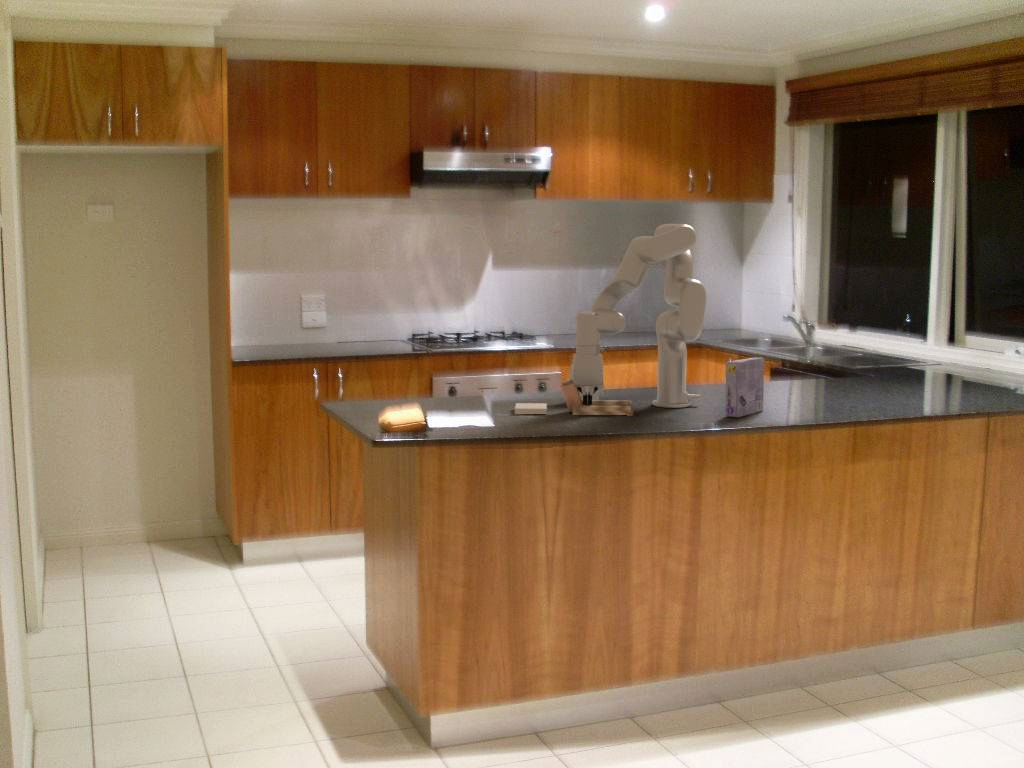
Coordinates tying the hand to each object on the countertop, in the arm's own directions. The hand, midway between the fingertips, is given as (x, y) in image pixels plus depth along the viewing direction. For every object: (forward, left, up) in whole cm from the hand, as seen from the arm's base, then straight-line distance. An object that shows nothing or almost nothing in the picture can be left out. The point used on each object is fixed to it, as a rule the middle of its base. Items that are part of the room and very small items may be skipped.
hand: (587, 406), depth 353 cm
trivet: (+18, 0, -2) cm, 18 cm away
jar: (+3, 0, -1) cm, 4 cm away
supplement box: (+1, -20, -2) cm, 20 cm away
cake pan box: (-50, 0, -2) cm, 50 cm away
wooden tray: (-5, 0, -2) cm, 5 cm away
